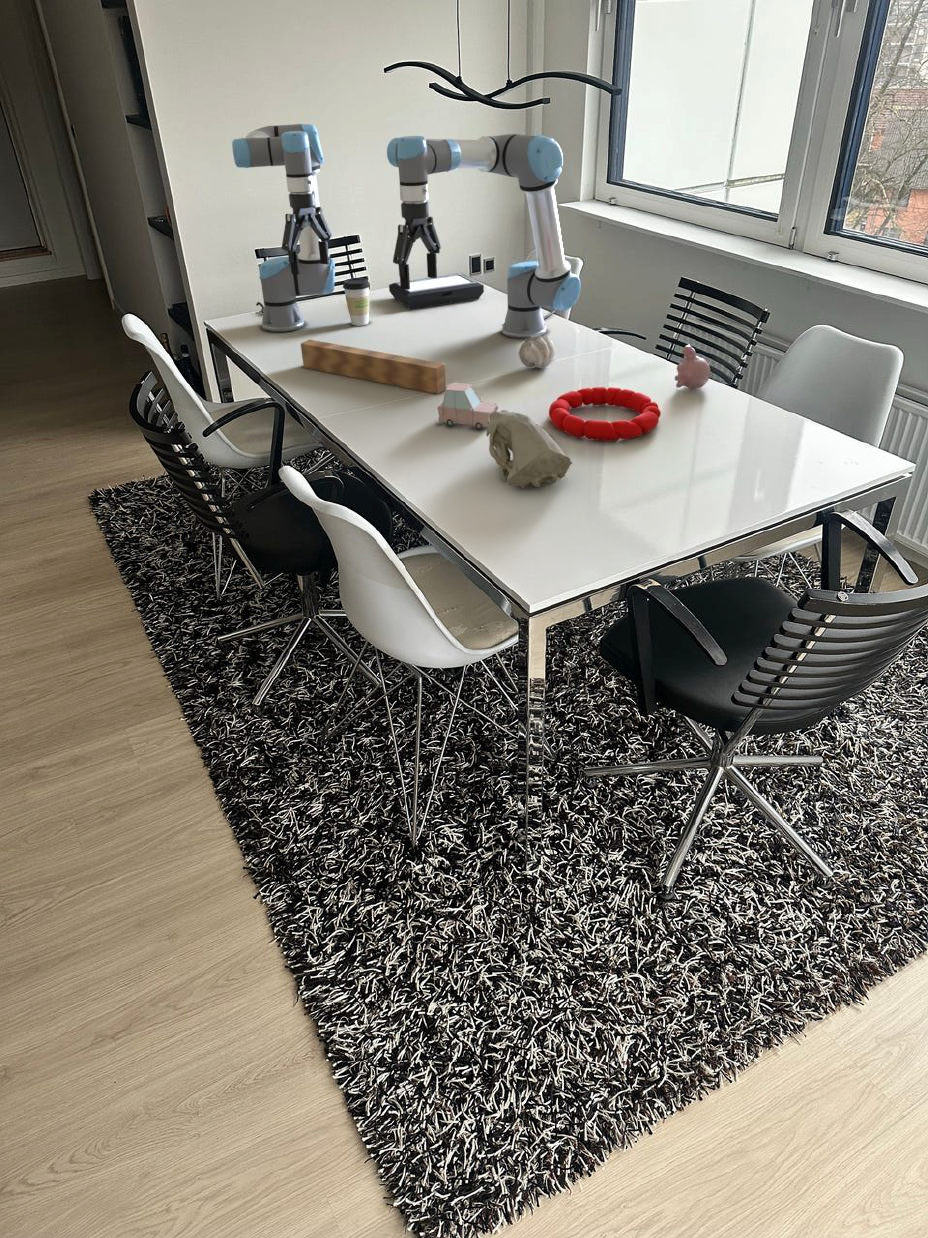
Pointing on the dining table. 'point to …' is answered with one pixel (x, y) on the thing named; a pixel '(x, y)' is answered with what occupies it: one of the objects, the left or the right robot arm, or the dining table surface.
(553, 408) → the decorative ring
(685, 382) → the figurine
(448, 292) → the electronic device
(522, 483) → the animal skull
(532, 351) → the seashell
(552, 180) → the right robot arm
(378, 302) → the dining table surface
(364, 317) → the coffee cup
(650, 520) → the dining table surface
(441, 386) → the bar
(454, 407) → the toy car
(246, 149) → the left robot arm
